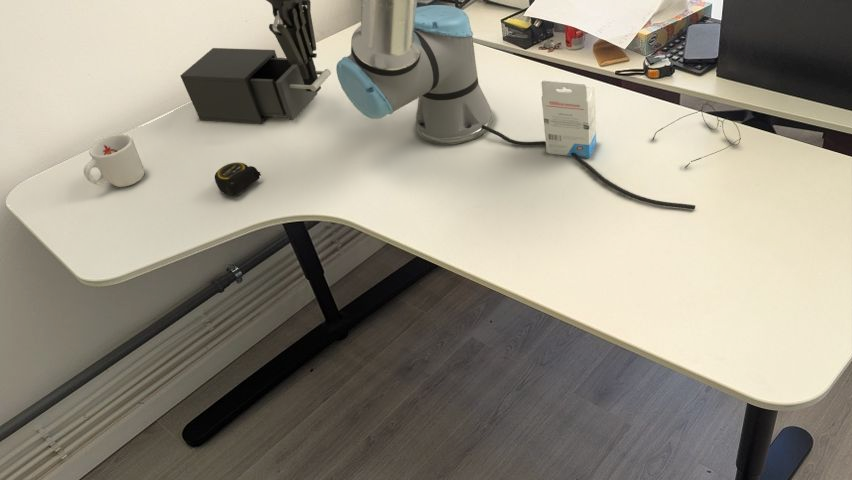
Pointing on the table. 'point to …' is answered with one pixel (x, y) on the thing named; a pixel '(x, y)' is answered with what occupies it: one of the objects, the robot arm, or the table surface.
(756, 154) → the table surface
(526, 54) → the table surface
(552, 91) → the ink box
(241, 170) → the tape measure
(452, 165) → the table surface
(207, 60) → the cabinet
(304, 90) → the drawer
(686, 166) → the eyeglasses
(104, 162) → the cup
